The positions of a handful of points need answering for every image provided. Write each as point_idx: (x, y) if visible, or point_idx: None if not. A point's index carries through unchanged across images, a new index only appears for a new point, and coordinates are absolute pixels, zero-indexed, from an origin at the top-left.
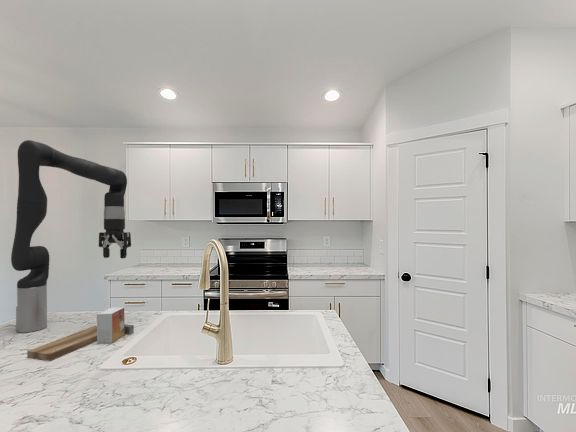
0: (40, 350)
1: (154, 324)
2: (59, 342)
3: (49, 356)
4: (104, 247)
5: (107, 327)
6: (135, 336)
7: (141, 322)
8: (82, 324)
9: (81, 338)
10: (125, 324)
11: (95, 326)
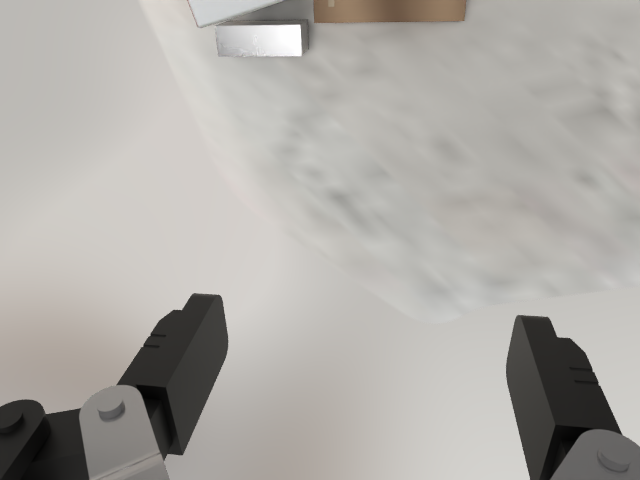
0: None
1: (234, 173)
2: None
3: None
4: (571, 449)
5: None
6: (182, 12)
7: (317, 183)
8: (631, 83)
9: None
10: (268, 53)
11: (450, 9)
